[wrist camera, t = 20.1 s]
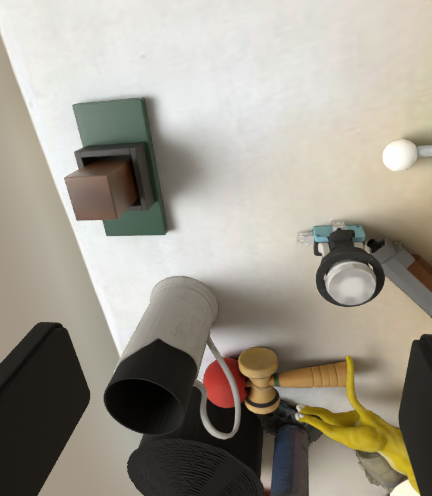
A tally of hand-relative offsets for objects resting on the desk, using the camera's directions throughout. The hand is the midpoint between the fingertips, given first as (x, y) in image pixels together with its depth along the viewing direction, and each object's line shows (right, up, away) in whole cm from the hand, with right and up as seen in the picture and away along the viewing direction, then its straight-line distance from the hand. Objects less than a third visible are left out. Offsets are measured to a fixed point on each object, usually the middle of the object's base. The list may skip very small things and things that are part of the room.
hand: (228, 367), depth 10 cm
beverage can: (+11, -21, +42) cm, 48 cm away
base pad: (-10, +11, +28) cm, 32 cm away
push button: (+11, +5, +28) cm, 31 cm away
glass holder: (-2, -5, +36) cm, 37 cm away
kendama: (+7, -12, +38) cm, 40 cm away
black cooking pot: (-2, -24, +46) cm, 52 cm away
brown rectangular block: (-10, +11, +28) cm, 31 cm away
